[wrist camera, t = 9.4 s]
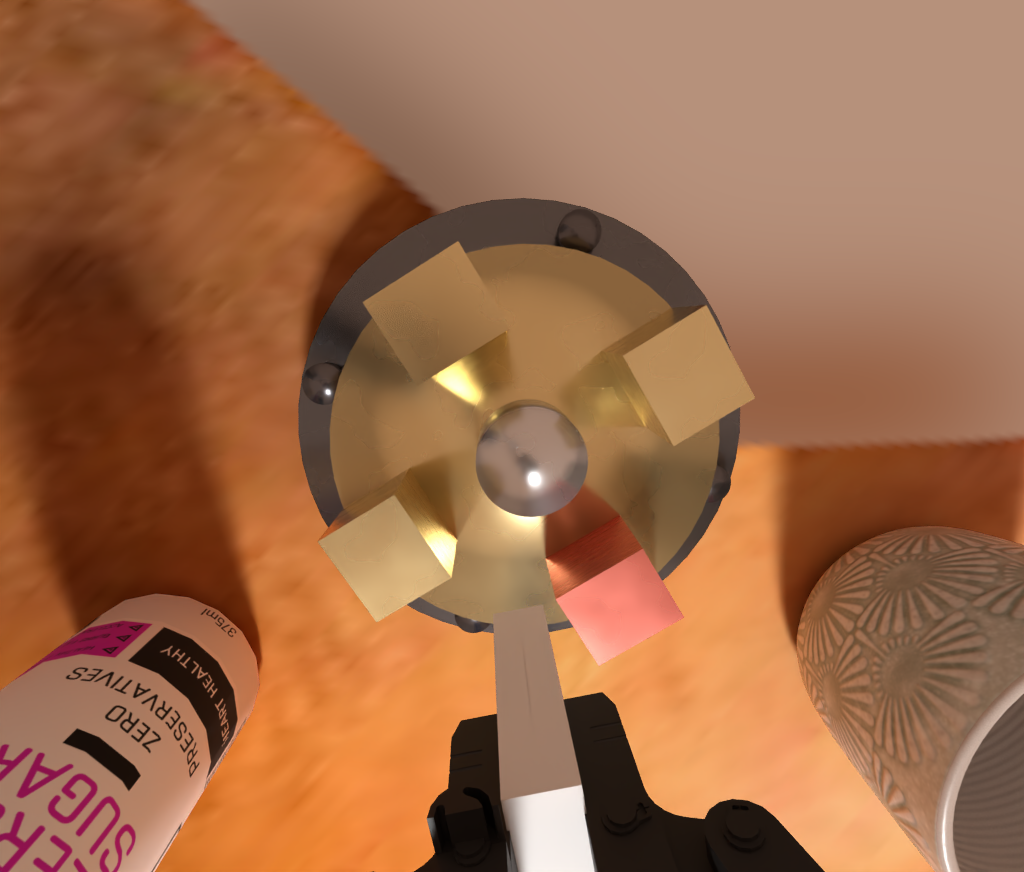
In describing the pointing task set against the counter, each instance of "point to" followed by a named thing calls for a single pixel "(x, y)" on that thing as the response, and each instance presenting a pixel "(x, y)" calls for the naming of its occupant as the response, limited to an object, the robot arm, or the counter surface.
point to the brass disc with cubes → (516, 376)
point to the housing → (519, 424)
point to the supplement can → (120, 736)
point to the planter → (928, 686)
